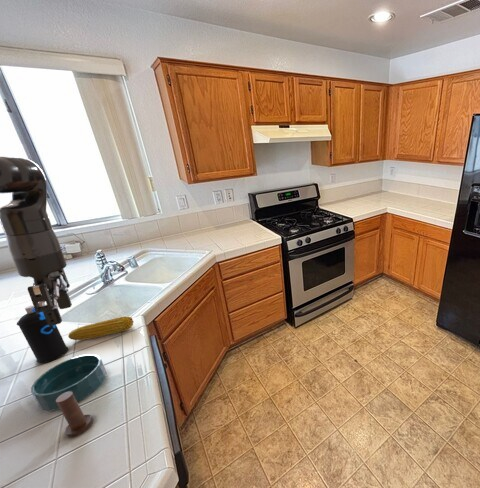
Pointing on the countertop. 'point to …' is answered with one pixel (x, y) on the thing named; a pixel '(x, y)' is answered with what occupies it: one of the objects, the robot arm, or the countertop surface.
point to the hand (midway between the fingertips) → (61, 315)
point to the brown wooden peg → (73, 415)
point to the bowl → (69, 380)
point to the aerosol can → (41, 336)
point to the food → (102, 328)
